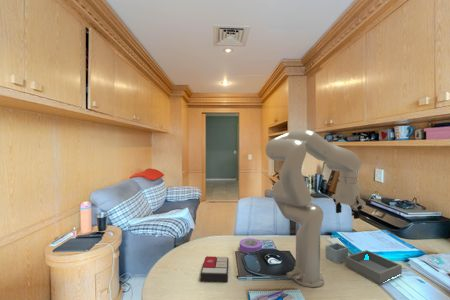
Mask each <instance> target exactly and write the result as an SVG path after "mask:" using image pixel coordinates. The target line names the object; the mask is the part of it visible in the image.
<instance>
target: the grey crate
mask: <svg viewBox="0 0 450 300" xmlns="http://www.w3.org/2000/svg"><path fill="white" fill-rule="evenodd" d="M366 254H368V256H369V260H364V258H365V255H366ZM344 262H345V263H344V265H345V267H346V268H347V269H349V270H351V271H353V272H355V273H356V274H359V275H360V276H362V277H364V278H366V279H367V280H370V281H372V282H373V283H375V284H376V285H378V286H381V285H382V284H381V283H383V282H385V281H387V280H388V279H391V278H392V277H395V276H397V275H399V274H402V273H403V271H402V269H403V266H402V264H400V263H398V262H395V261H393V260H391V259H388V258H386V257H383V256H381V255H379V254H378V253H375V252H372V251H369V250H367V249H365V250H362V251H359V252H356V253H353V254H348V256H346V257H345V261H344ZM380 284H381V285H380ZM383 284H384V283H383Z"/></svg>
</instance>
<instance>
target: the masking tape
mask: <svg viewBox="0 0 450 300" xmlns="http://www.w3.org/2000/svg"><path fill="white" fill-rule="evenodd" d="M262 243H263V242H261V240H259V239H256V238H250V237H247V238H243V239H240V241H239V251H240V253H242V252H243V253H242V254H244V253H249V252H255V251H259V250H261V249H262V250H263V247H262V246H263V244H262Z"/></svg>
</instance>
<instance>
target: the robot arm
mask: <svg viewBox="0 0 450 300" xmlns="http://www.w3.org/2000/svg"><path fill="white" fill-rule="evenodd" d="M264 149H265V155H266V156H267V158H269V159H270V160H272V161H281V162H283V164H282V166H281V168H280V170H279V177H278V178H279V179H278V180H277V181H275V182H274V184H273V187H272V193H271V194H272V198H273V199H274V202H275V203H276V205H277V208H278V209H279V211H280V212H281V215H282V216H283V217H284V218H285V219H287V220H289V221H291V222H295V223H297V224H299V225H300V227H299V229H297V232H296V233H295V234H296V235H295V266H293V269H292V271H289V272H286V277H287V279H288V278H292V277H293V278H292V279H293V280H294V281H295V283H297V284H299V285H301V286H304V287H308V288H318V287H321V286H323V284H324V283H325V277H324V275H323V274H322V273H321V234H322V233H321V232H322V226H323V221H324V211H323V209H322V208H321V207H320V206H319V205H317V203H316V204H315V203H313V202H311V200H312V197H311V196H312V195H311V191H310V189H309V187H308V184H307V183H306V180H305V178H304V176H303V173H302V168H303V164H304V161H305V158H306V157H307V156H306V155H307V154H308V155H310V156H311V157H313V158H315V159H317V160H318V161H321V162H324V163H325V166H326V168H327V169H329V170H331V171H337V172H339V176H338V177H337V179H338V180H339V181H337V184H336V188H335V193H333V194H331V198H332V201H333V203H334V205H335V213H336V214H340V213H342V207H343V206H342V204H343V205H347V206H351V207H353V208H354V210H353V220H358V219H360V218H361V211H362V209H364V207H365V206H366V204H367V203H366V201H364V200H363V199H362V198H361V196H360V188H359V184H358V171H359V170H360V168H361V166H362V163H361V159H360V157H359V156H358V155H357V154H356V153H354V152H353V151H351V150H350V149H348V148H344V147H341V146H339V145H337V144H332V143H330V142H329V141H327V140H326V139H325V138H323V137H322V135H321V136H320V134H318V133H316V132H315V131H313V130H310V129H305V130H304V129H303V130H301V129H300V130H289V131H287V132H285V133H283V134H281V135H279V136H277V137H274V138H272V139H271V140H269V141H268V142H267V143H266V146H265V148H264Z"/></svg>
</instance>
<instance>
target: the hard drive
mask: <svg viewBox="0 0 450 300" xmlns="http://www.w3.org/2000/svg"><path fill="white" fill-rule="evenodd" d="M338 238H339V237H327V238H326V241H327V242H328V243H330V245H331V244H334V243H339V244H341V245H343V246H345V245H344V244H343V243H342V242H341V241H340V240H339V239H338ZM345 247H346V246H345Z"/></svg>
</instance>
